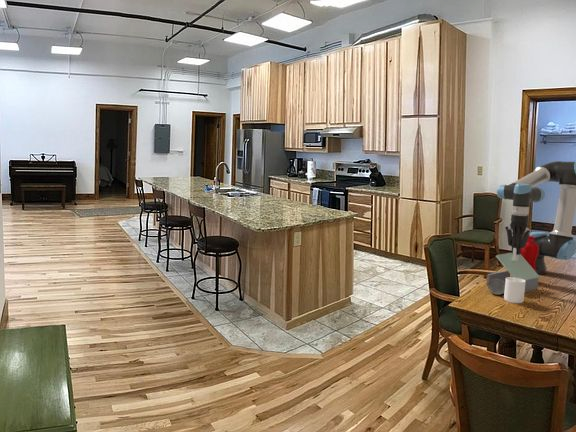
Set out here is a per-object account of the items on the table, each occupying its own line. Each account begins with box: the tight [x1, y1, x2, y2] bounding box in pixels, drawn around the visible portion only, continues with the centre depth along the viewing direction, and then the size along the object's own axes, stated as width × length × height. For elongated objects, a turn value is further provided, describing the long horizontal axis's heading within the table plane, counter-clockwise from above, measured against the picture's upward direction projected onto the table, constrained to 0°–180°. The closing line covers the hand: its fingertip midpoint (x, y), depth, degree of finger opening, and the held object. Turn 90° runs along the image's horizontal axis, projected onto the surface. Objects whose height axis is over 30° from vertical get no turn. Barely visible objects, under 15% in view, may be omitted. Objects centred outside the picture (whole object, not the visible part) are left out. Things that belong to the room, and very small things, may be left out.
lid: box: [495, 252, 541, 281], centre depth 226 cm, size 18×16×1 cm
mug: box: [487, 278, 505, 295], centre depth 220 cm, size 10×8×10 cm
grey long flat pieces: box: [485, 269, 539, 293], centre depth 230 cm, size 18×16×6 cm
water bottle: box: [520, 236, 539, 272], centre depth 241 cm, size 9×11×25 cm
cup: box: [503, 276, 526, 304], centre depth 211 cm, size 8×12×10 cm
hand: (515, 260), depth 227 cm, fingers closed
